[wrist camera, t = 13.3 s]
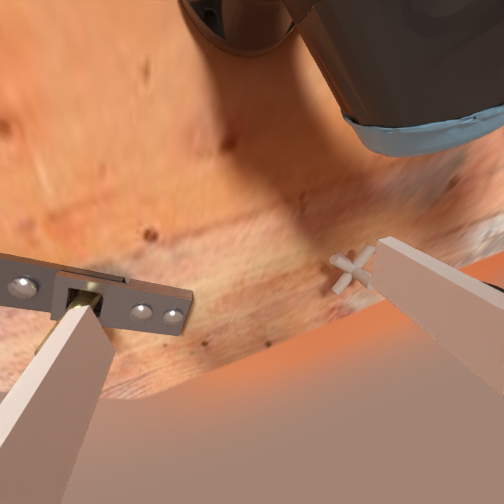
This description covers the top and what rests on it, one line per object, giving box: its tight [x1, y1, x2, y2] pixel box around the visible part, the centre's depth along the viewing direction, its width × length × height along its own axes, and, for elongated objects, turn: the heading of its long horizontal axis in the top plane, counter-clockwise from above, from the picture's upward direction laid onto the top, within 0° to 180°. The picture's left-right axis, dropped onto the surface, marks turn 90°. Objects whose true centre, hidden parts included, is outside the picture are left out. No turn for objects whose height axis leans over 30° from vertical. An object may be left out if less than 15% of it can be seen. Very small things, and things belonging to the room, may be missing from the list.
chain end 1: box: [0, 253, 124, 313], centre depth 34 cm, size 22×8×2 cm, turn 67°
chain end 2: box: [50, 271, 192, 336], centre depth 38 cm, size 19×8×3 cm, turn 67°
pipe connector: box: [329, 243, 376, 295], centre depth 41 cm, size 10×10×10 cm
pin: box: [35, 290, 102, 356], centre depth 32 cm, size 3×3×12 cm
